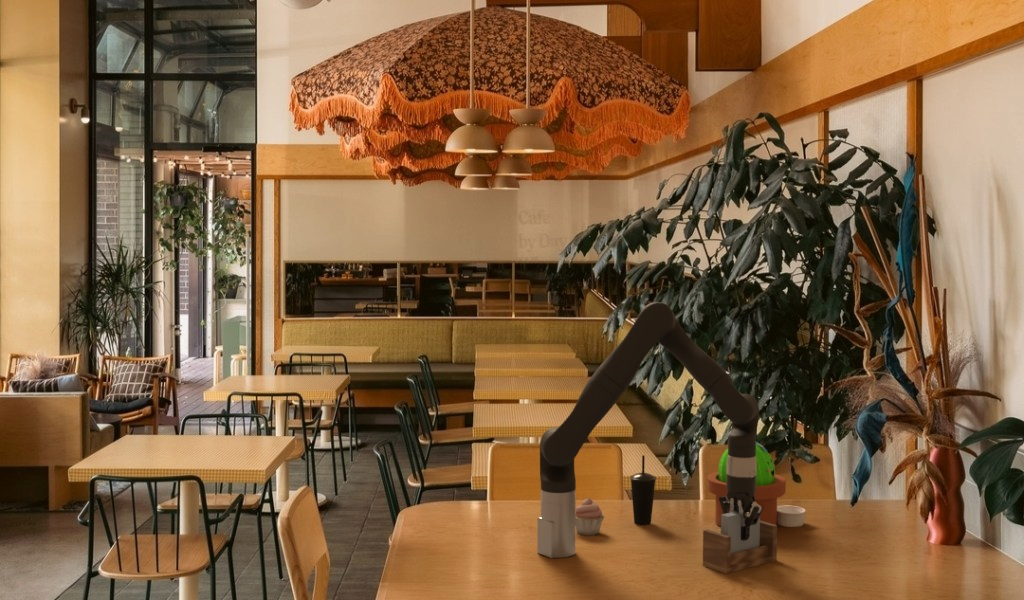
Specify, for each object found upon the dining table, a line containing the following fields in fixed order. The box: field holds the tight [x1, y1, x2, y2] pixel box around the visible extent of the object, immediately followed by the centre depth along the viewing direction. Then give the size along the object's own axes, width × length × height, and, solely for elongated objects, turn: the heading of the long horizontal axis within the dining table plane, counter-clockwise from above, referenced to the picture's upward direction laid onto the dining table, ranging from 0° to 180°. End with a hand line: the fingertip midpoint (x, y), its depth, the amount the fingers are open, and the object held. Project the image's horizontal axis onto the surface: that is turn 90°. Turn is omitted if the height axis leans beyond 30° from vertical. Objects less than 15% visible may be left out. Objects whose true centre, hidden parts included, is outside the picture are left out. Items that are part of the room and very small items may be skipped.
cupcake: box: [575, 497, 606, 536], centre depth 310 cm, size 9×9×10 cm
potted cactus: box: [707, 441, 787, 527], centre depth 319 cm, size 22×22×25 cm
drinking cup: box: [629, 455, 657, 526], centre depth 320 cm, size 8×8×20 cm
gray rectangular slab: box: [720, 511, 760, 554], centre depth 283 cm, size 12×2×10 cm, turn 126°
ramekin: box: [776, 504, 806, 528], centre depth 321 cm, size 9×9×4 cm
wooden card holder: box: [702, 520, 778, 574], centre depth 283 cm, size 19×8×9 cm, turn 126°
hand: (740, 538), depth 283 cm, fingers closed on gray rectangular slab, 2 cm apart
